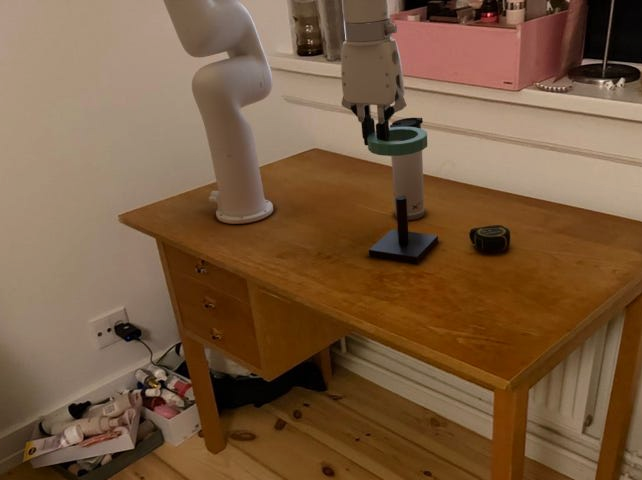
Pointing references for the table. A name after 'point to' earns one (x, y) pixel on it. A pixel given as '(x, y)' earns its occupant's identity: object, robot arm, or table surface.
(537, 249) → the table surface
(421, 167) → the travel mug
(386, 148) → the bangle
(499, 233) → the tape measure
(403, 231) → the stand
